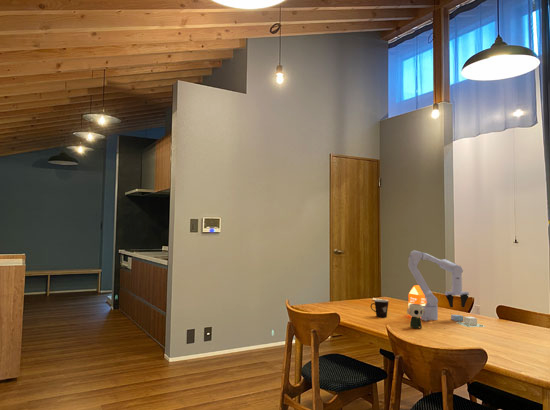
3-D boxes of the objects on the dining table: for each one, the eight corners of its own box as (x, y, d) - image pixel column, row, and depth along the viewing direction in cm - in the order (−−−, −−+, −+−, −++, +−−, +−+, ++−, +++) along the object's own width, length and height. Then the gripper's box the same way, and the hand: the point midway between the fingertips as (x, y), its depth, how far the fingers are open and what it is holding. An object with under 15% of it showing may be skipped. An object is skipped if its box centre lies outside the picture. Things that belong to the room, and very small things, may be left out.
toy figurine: (411, 330, 227) (411, 306, 228) (403, 327, 234) (403, 303, 235) (428, 329, 230) (428, 305, 231) (420, 326, 237) (420, 303, 238)
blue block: (455, 323, 248) (455, 316, 248) (451, 321, 253) (451, 314, 253) (463, 323, 249) (463, 316, 249) (458, 321, 254) (458, 314, 254)
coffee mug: (387, 315, 266) (387, 300, 267) (389, 318, 257) (389, 302, 258) (368, 315, 267) (369, 299, 268) (370, 317, 259) (370, 301, 259)
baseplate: (467, 328, 233) (466, 325, 233) (455, 324, 244) (455, 321, 244) (486, 328, 234) (486, 325, 234) (473, 323, 246) (473, 321, 246)
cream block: (469, 325, 236) (469, 318, 237) (464, 323, 241) (463, 316, 242) (477, 325, 237) (477, 318, 237) (471, 323, 242) (471, 316, 242)
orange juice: (408, 316, 266) (408, 284, 267) (416, 314, 271) (416, 284, 273) (419, 318, 260) (418, 286, 261) (427, 316, 265) (426, 285, 267)
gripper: (449, 285, 248) (449, 308, 247) (471, 285, 249) (472, 308, 249) (443, 284, 255) (443, 306, 254) (464, 284, 256) (465, 306, 256)
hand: (457, 307), depth 252 cm, fingers open, 7 cm apart
